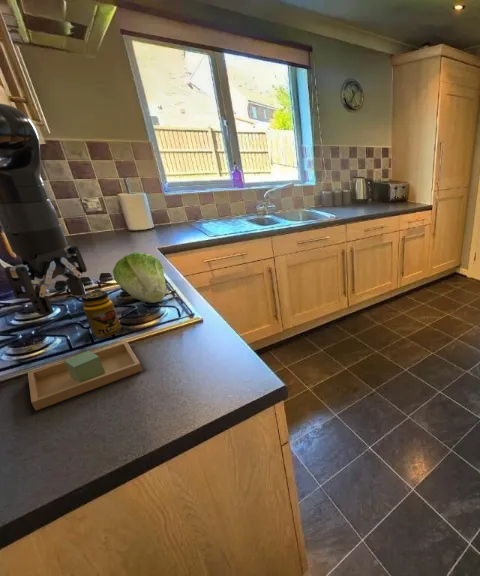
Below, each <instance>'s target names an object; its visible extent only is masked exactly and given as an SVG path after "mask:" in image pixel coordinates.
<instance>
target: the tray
mask: <svg viewBox="0 0 480 576" xmlns="http://www.w3.org/2000/svg"><path fill="white" fill-rule="evenodd" d="M91 352H92V353H94V354H96V355H97V356H99V358H100V360H101V363H102V366H103V368H104V371H105V373H104V374H102V375H99V376H97V377H95V378H93V379H90V380H87V381H85V382H82V383H79V382H77V381H76V380H74V379H73V378H72V377H71V376H70V373H69V371H68V369H67V366H66V364H65V362H64V361H65V360H63V361H60V362H58V363H54V364H50V365H48V366H44V367H41V368H38V369H35V370H32V371H29V372H27V378H28V386H29V395H30V402H31V405H32V407H33V408H34V410H35V411H39V410H41V409H43V408H47V407H49V406H52V405H55V404H58V403H60V402H63V401H65V400H68V399H70V398H74V397H76V396H78V395H81V394H84V393H87V392H89V391H92V390H94V389H97V388H100V387H102V386H105V385H109V384H111V383H114V382H117V381H119V380H121V379H124V378H126V377H130V376H132V375H134V374H137V373H140V372H142V371H143V367H142V365H141V363H140V361H139V359H138V357H137V356H136V354H135V353H134V351H133V350H132V348H131V346H130V344H129V342H128V341H123V342H120V343H117V344H115V345H114V344H113V345H111V346H108V347H105V348H102V349H99V350H96V351H95V350H94V351H91Z"/></svg>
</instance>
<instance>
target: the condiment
mask: <svg viewBox="0 0 480 576" xmlns="http://www.w3.org/2000/svg"><path fill="white" fill-rule="evenodd" d="M81 300H82V304H83V306H82V307H83V308H82V309H83V311H84V315H85V317H86V319H87V322H88V324H89V327H90V330H91V332H92V335H93V336H94V337H96V338H107V337H111V336H113V335H116V334H118V333H119V332H120V331H121V328H122V326H121V323H120V320H119V316H118V314H117V311H116V307H115V305H114V303H113V301H112V300H111V298H110V296H109V294H108V292H107V291H105V290H94V291H90V292H87V293H85V294H84V295H82V296H81Z"/></svg>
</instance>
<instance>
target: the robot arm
mask: <svg viewBox="0 0 480 576" xmlns="http://www.w3.org/2000/svg"><path fill="white" fill-rule="evenodd" d="M41 167H42V161H41V146H40V139H39V134H38V132H37V129H36V127H35V125H34V124H33V122H32V121H31V119H30V118H29V117H28V116H27V115H26V114H25V113H24V112H23V111H21V110H20V109H18V108H17V107H15V106H12V105H9V104H6V103H0V227H1V229H2V231H3V234H4V236H5V238H6V240H7V243H8V245H9V247H10V250H11V252H12V253H13V254H15V255H17V256H18V257H19V258H20V264H18V265H13V266H6V267H4V273H5V275H6V278H7V280H8V283H9V286H10V288H11V291H12V293H13V295H14V298H15V299H16V300H17V299H18V300H23V299H29V301H30V303H31V305H32V308H33V309H34V312H35V313H36V314H38V315H40V316H49V315H52V314H53V313H54V309H53V307H52V304H51V302H50V299H49V297H48V295H46V293H47V289H48V287H49V286H50V285H51V284H52V280H53V279H55V278H56V277H58V276H62V277H64V278H65V281H66V284H67V287H68V290H69V292H70V294H71V296H74V297H76V296H77V297H82V296H83V295H85V294H86V292H85V287H84V284H83V281H82V279H81V278H82V277H83V273H87V271H88V268H87V265H86V263H85V261H84V258H83V256H82V254H81V251H80V249H79V246H77V245H68V241H67V238H66V236H65V232H64V230H63V227H62V225H61V222H60V220H59V217H58V216H59V215H58V214H57V211H56V209H55V207H54V205H53V203H52V201H51V199H50V197H49V193H48V191H47V188H46V185H45V183H44V180H43V178H42V174H41V169H42V168H41ZM76 264H77V265H76ZM36 287H37V290H36ZM23 289H24V291H23Z"/></svg>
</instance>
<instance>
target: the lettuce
mask: <svg viewBox="0 0 480 576" xmlns="http://www.w3.org/2000/svg"><path fill="white" fill-rule="evenodd" d="M112 274H113V275H112V276H113V279H114V281H115V282H116V283H117V284H118V286H119V287H120V288H121V289H123V290H124V291H125V292H126V293H127V294H128V295H130V296H131V297H133V298H134V299H136V300H139V301H141V302H144V303H148V304H155V303H159V302H161V301H162V299H164V298H165V296H166V294H167V284H166V278H165V272H164V265H163V264H162V263H161V261H160V260H159V259H158V258H157V257H155V256H154V255H152V254H148V253H145V252H137V251H134V252H131V253H128V254H125V256H123V257H122V258H120V259H119V260H117V262H116V263H115V265H114V267H113V269H112Z"/></svg>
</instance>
